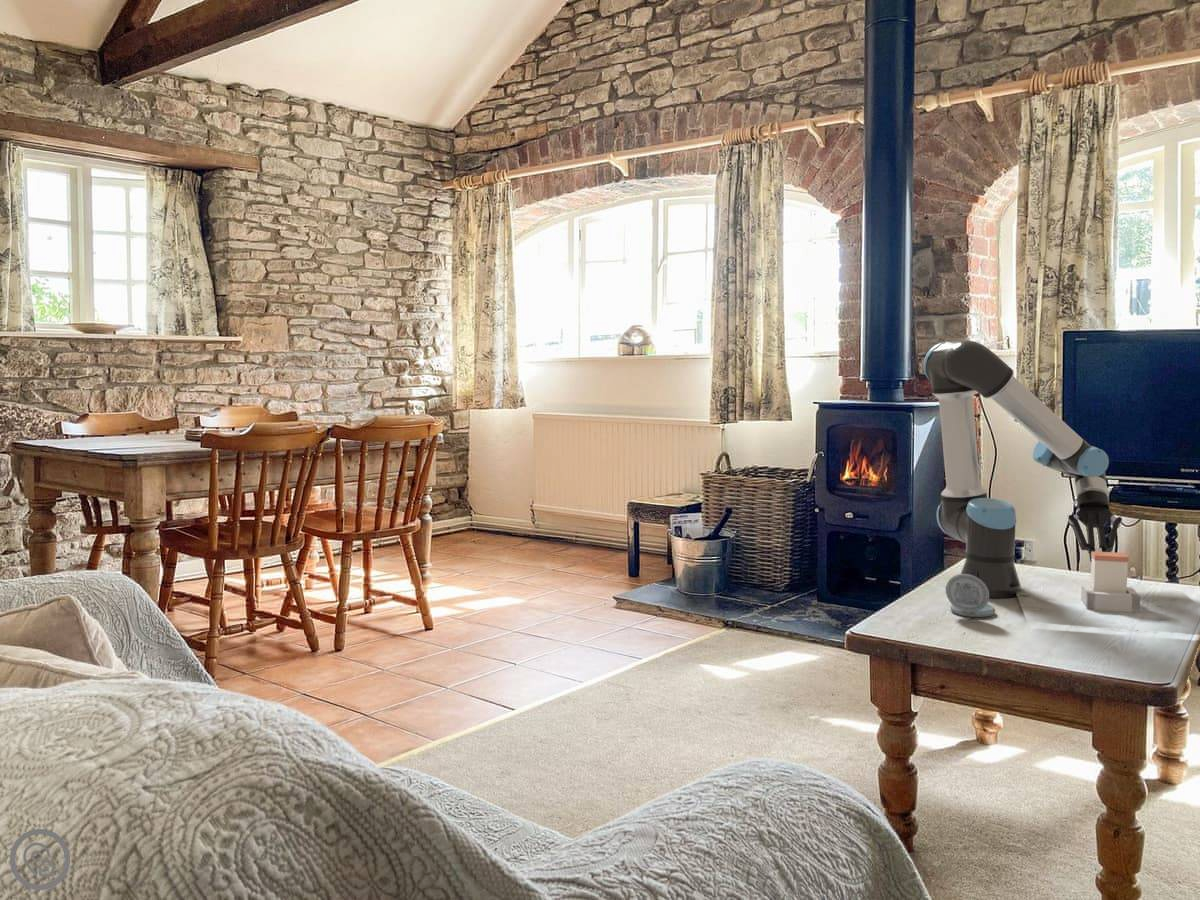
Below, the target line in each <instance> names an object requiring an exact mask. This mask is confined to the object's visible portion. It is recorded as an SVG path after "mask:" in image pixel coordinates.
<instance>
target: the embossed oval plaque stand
mask: <svg viewBox="0 0 1200 900" xmlns="http://www.w3.org/2000/svg"><path fill="white" fill-rule="evenodd" d="M945 593H946V594H945V595H946V597H947V599H948V601H949V603H950V604H951V605H950V606H949V607H950V611H951V612H953V614H955V615H959V616H963V617H968V618H988V617H992V616H994V615H995V614H996V608H994V606H993V605H991V604H989V600H990V598H989V591H988V588H987V586H986V585H985V583H984V582H983V581H982V580H980V579H979V578H978V577H976V576H973V575H970V574H961V573H958V574H955V575H954V576H952V577H950V578H949V579H948V581H947V582H946V585H945Z"/></svg>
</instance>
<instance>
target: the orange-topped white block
mask: <svg viewBox="0 0 1200 900" xmlns="http://www.w3.org/2000/svg"><path fill="white" fill-rule="evenodd" d="M1091 557H1092V561H1091V562H1090V563H1091V564H1090V585H1089V586H1090V587H1091V588H1092V590H1093V591H1094V592H1108V593H1124V594H1126V592H1127V587H1128V569H1129V568H1128V567H1129V565H1128V564H1129V560H1130V558H1129V556H1128V555H1127V554H1126V552H1113V551H1112V552H1109V551H1108V552H1096V551H1091Z"/></svg>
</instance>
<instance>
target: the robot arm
mask: <svg viewBox="0 0 1200 900" xmlns="http://www.w3.org/2000/svg"><path fill="white" fill-rule="evenodd" d="M922 367H923V372H924V375H925V376H926V378H927V379H928V380H929V382H930V384H931V393H932V395H933V397H935V398H936V399H938V405H939V417H940V427H941V429H940V430H941V439H942V441H941V442H942V450H943V452H942V453H943V463H944V472H945V476H944V477H945V488H944V489H943V490H942V491H941V493H940V499H941V502H940V504H939V505H938V507H937V509H936V521H937V524H938V526H939V528H940V529H941V531H942V532H943V533H944V534H946V535H947V536H948V537H950V538H952V539H953V540H956V541H961V542H962V543H964V544H965V562H964V563H963V566H962V568H961V572H960V574H970V575H973V576H976V577H978V578H979V579H980V580H982V581H983V582H984V583H985V585H986V586H987V588H988V591H989V599H991V598H993V599H1007V598H1016V597H1017V596H1018V594H1017V593H1019V592H1021V589H1022V588H1021V587H1022V586H1021V582H1020V579H1019V575H1018V572H1017V569H1016V566H1015V551H1016V550H1015V549H1016V548H1015V547H1016V545H1015V544H1016V526H1017V525H1016V524H1017V517H1016V516H1017V515H1016V514H1017V513H1016V509H1015V507H1014V505H1012V504H1011V503H1009V502H1007V501H1006V500H1001V499H996V498H991V497H990V498H989V497H988V493H987V490H986V489H985V488H984V487H983V486H982V485H981V482H980V481H981V480H980V469H979V468H980V467H979V460H978V458H979V456H978V446H977V434H976V421H975V408H974V406H975V405H974V395H976V393H979V394H980V395H981V396H982V397H983V398H984V399H992V401H994V402H995V403H996V404H997V405H998V406H999V407H1001V408H1002V409H1003V410H1004V411H1005V412H1006V413H1007V414H1009V415H1010V417H1012V418H1013V419H1014V420H1015V421H1016V422H1018V423H1019V424H1020V425H1021V426H1022V427H1023V428H1024V429H1026V430H1027V431H1028V432H1029V433H1030V434H1031V435H1032V436H1033V437H1034V438H1036V439H1037V442H1036V444H1035V446H1034V449H1033V451H1032V458H1033V461H1034V462H1036V463H1038V464H1040V465H1042V467H1046V468H1048V469H1049V468H1050V469H1052V470H1054V471H1057V472H1059V473H1062V474H1064V475H1066V476H1069V477H1072V478H1073V479H1074V483H1075V494H1076V495H1075V496H1076V504H1077V505H1076V506H1077V510H1076V514H1073V515H1072V514H1069V515H1068V518H1067V524H1068V525H1069V526H1071V527H1072V530H1073V533H1074V535H1075V537H1076V541H1077V543H1078V545H1079V548H1080V550H1081V551H1087V554H1088V557H1089V562H1090V563H1091V561H1092V557H1091V551H1096V552H1113V551H1114V550H1113V549H1114V546H1115V541H1116V536H1117V534H1118V533H1117V532H1118V529H1119V528H1120V527H1121V524H1122V521H1123V518H1122V517H1121V516H1118V517H1117V516H1115V515H1113V512H1112V511H1111V510H1110V502H1109V497H1108V493H1109V492H1108V486H1107V478H1106V477H1107V475H1106V471H1107V469H1108V467H1109V464H1110V461H1109V456H1108V454H1107V452H1105V450H1103V449H1101V448H1098V447H1096V446H1093V445H1090V444H1089V443H1088V442H1087V441H1086V440H1085V439H1083V438H1082V437H1081V436H1080V435H1079V434H1078V433H1076V431H1075V430H1073V429H1072V428H1071V427H1070V426H1069V425H1068V424H1067V423H1066V422H1065V421H1064V420H1062V419H1061V417H1059V416H1058V415H1057V414H1056V413H1054V411H1052V410H1051V409H1050V408H1049V407H1048V406H1047V405H1046V404H1045V403H1044V402H1042V400H1040V399H1039V398H1038V396H1036V395H1035V394H1034V393H1032V391H1030V390H1029V389H1028V388H1027V387H1026V386H1025V385H1024V384H1023V383H1022V382H1021V381H1019V380H1018V379H1017V378H1016V377H1015V376H1014V375H1015V371H1014V370H1013V369H1012V368H1011V367H1010V366H1009V364H1007V363H1006V362H1005V361H1004V360H1003V359H1001V357H999V356H998V355H997V354H996V353H994V352H993V351H992V350H990V349H989V348H988V347H987V346H985V345H984V344H982V343H980V342H978V341H973V340H957V341H956V340H947V341H944V342H939V343H937V344H935V345H934V346H932V347H931V348H930V349H929V350H928V351H927V353H926V355H925V357H924V360H923V366H922ZM1079 521H1080V523H1081V524H1083V525H1084V527H1085V529H1086V530H1085V531H1086V535H1087V536H1086V537H1087V538H1085V534H1084V533H1083V532H1084V531H1083V530H1082V527H1081V525H1080V523H1079ZM1109 522H1110V525H1111V529H1110V534H1109V539H1108V544H1107V541H1106V531H1105V526H1106V525H1107V524H1108V523H1109ZM1094 528H1095V529H1096V532H1097V537H1098V538H1097V539H1098V547H1096V543H1095V534H1094V533H1095V532H1094ZM1086 539H1087V540H1086Z"/></svg>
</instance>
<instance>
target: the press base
mask: <svg viewBox="0 0 1200 900" xmlns="http://www.w3.org/2000/svg"><path fill="white" fill-rule="evenodd" d="M1080 592H1081V593H1080V600H1081V602H1082V604H1083V605H1084V607H1085V609H1086V610H1096V611H1107V612H1110V611H1111V612H1122V613H1123V612H1126V613H1140V608H1141V607H1140V606H1141V605H1140V603H1141V595H1140V594H1138V592H1137V591H1136V590H1135V589H1134V588H1133V586H1127V592H1126V594H1124V593H1108V592H1094V591H1093V590H1092V588H1091V587H1090V585H1089V584H1086V583H1084V584H1082V583H1081V591H1080Z"/></svg>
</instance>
